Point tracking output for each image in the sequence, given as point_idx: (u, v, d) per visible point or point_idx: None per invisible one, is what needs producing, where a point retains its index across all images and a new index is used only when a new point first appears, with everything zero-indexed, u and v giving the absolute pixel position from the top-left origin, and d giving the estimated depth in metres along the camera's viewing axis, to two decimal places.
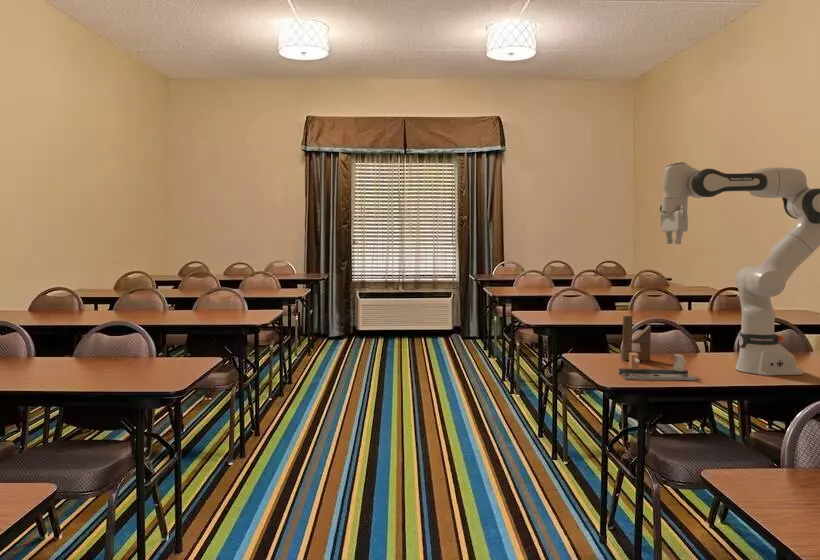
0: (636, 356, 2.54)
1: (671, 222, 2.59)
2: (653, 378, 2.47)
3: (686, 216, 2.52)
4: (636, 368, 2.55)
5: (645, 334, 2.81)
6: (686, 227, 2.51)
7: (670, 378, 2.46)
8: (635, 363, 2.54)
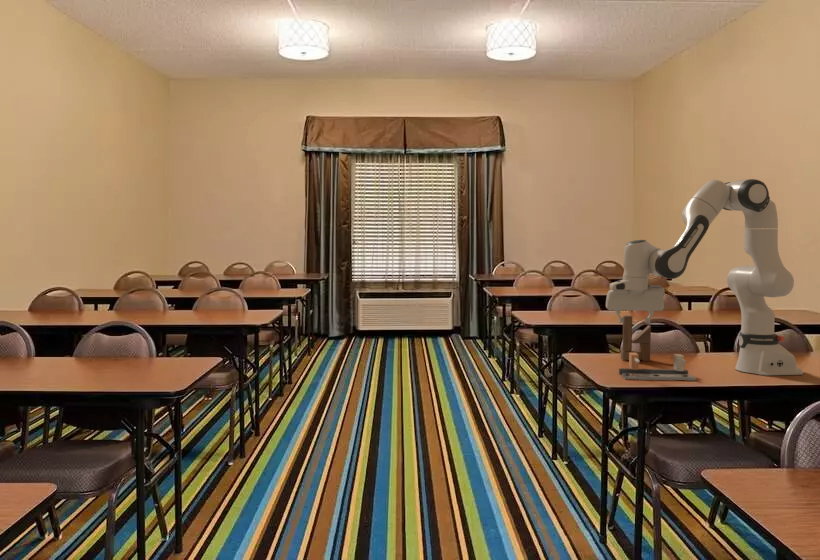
0: (636, 356, 2.54)
1: (642, 301, 2.53)
2: (653, 378, 2.47)
3: None
4: (636, 368, 2.55)
5: (645, 334, 2.81)
6: None
7: (670, 378, 2.46)
8: (635, 363, 2.54)
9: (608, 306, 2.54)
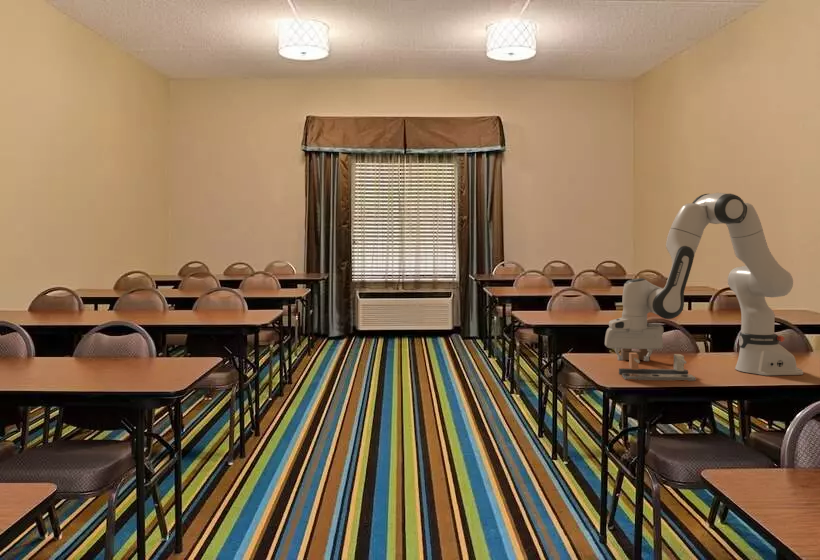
0: (636, 356, 2.54)
1: (641, 339, 2.54)
2: (653, 378, 2.47)
3: None
4: (636, 368, 2.55)
5: None
6: None
7: (670, 378, 2.46)
8: (635, 363, 2.54)
9: (607, 344, 2.55)
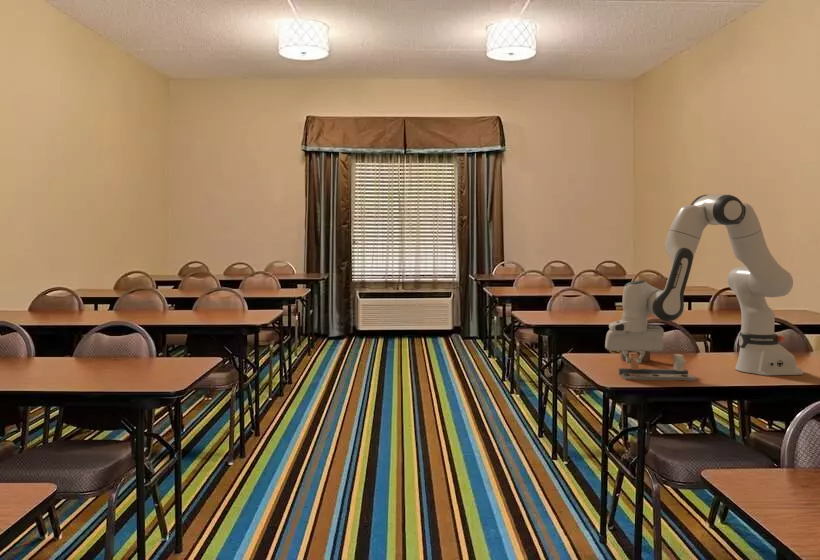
0: (636, 356, 2.54)
1: (642, 342, 2.54)
2: (653, 378, 2.47)
3: None
4: (636, 368, 2.55)
5: None
6: None
7: (670, 378, 2.46)
8: (635, 363, 2.54)
9: (607, 347, 2.55)
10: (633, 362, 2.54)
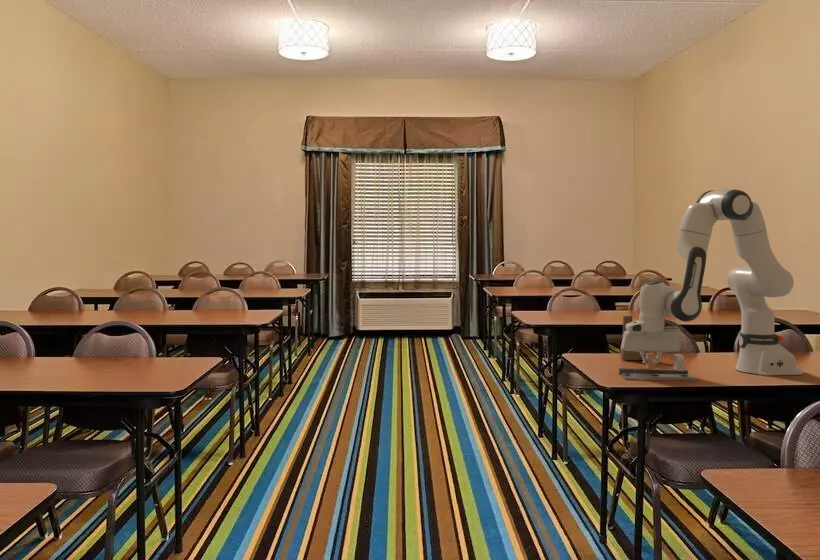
0: (653, 356, 2.54)
1: (659, 342, 2.54)
2: (653, 378, 2.47)
3: None
4: (653, 368, 2.54)
5: None
6: None
7: (670, 378, 2.46)
8: (652, 363, 2.54)
9: (624, 347, 2.55)
10: (650, 362, 2.54)
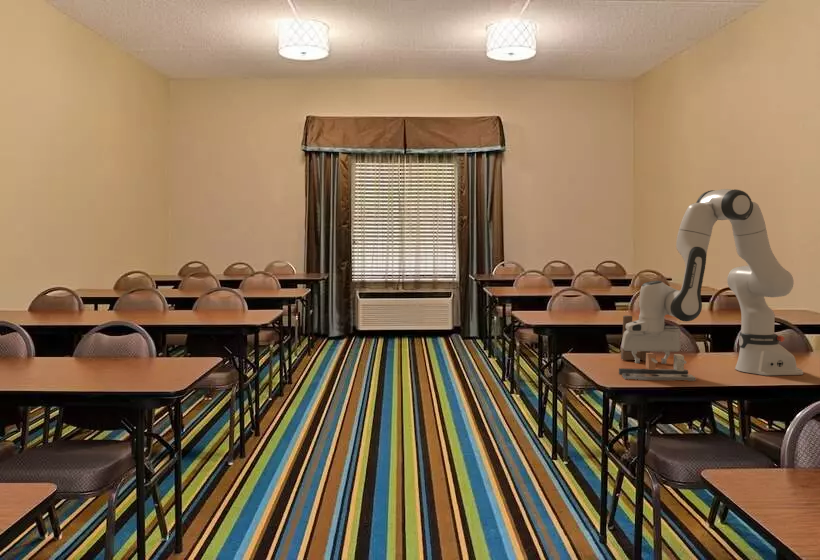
0: (653, 356, 2.54)
1: (659, 342, 2.54)
2: (653, 378, 2.47)
3: None
4: (653, 368, 2.54)
5: None
6: None
7: (670, 378, 2.46)
8: (652, 363, 2.54)
9: (624, 347, 2.55)
10: (650, 362, 2.54)
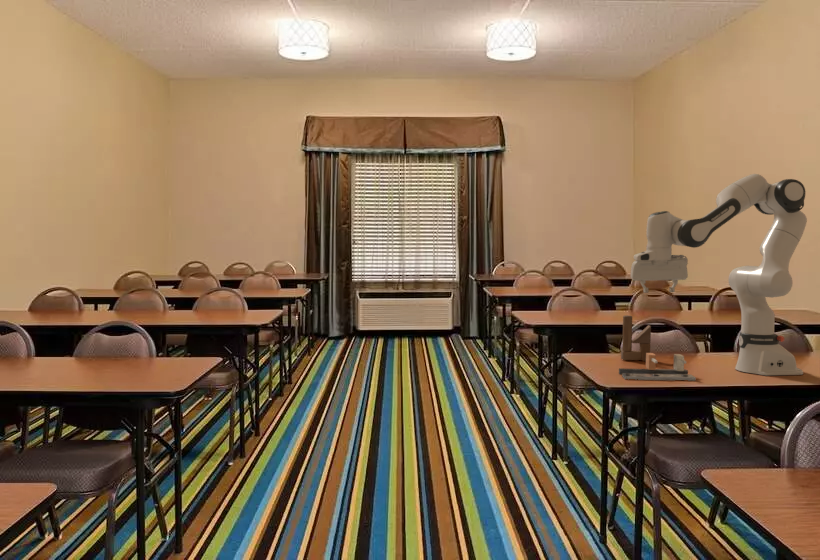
0: (653, 356, 2.54)
1: (666, 271, 2.60)
2: (653, 378, 2.47)
3: None
4: (653, 368, 2.54)
5: (645, 333, 2.81)
6: None
7: (670, 378, 2.46)
8: (652, 363, 2.54)
9: (633, 277, 2.61)
10: (650, 362, 2.54)
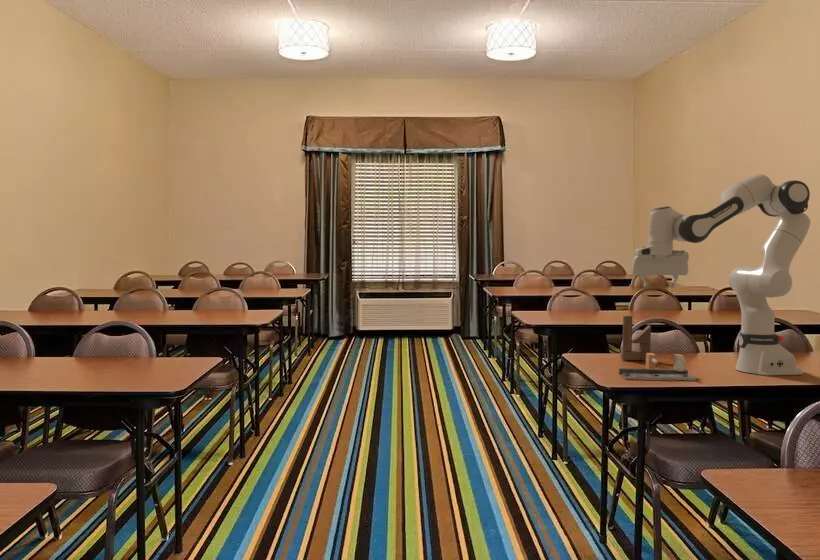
0: (653, 356, 2.54)
1: (667, 266, 2.61)
2: (653, 378, 2.47)
3: None
4: (653, 368, 2.54)
5: (645, 334, 2.81)
6: None
7: (670, 378, 2.46)
8: (652, 363, 2.54)
9: (634, 271, 2.62)
10: (650, 362, 2.54)
